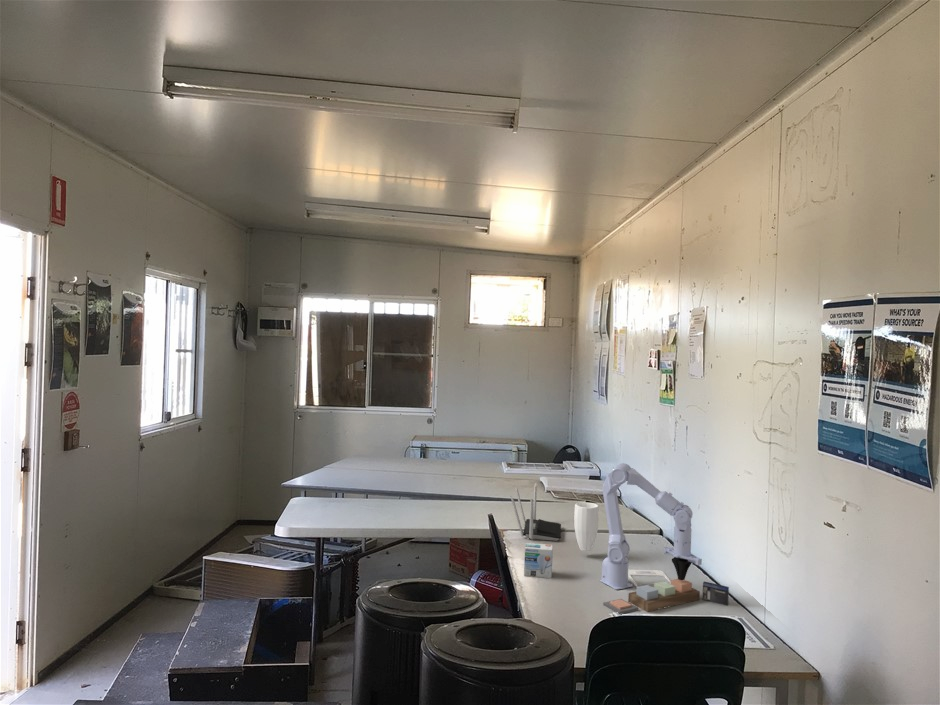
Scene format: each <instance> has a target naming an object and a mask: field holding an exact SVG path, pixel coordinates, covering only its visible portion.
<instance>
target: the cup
mask: <svg viewBox="0 0 940 705" xmlns="http://www.w3.org/2000/svg"><path fill="white" fill-rule="evenodd" d="M599 507H600V506H599V505H598V504H596V503H594V502H587V501H586V502H585V501H584V502H583V501H582V502H580V501H579V502H576V503H575V504H574V513H573V515H574V516H573V518H574V520H573V521H574V522H573V523H574V532H575V533H574V534H575V538H576V541H577V545H578V547H579V550H580V551H582V552H591V551H592V548H594V544H595V542H596V539H597V535H598V530H599V521H600V520H599V519H600V518H599V517H600V516H599V515H600V514H599V512H600V508H599Z"/></svg>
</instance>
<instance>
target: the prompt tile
mask: <svg viewBox="0 0 940 705" xmlns="http://www.w3.org/2000/svg"><path fill="white" fill-rule="evenodd" d="M602 605H603V606H604V607H606V608H608V609H609V610H611V611H612V612H615V613H616V612H618V613H617V614H618V615H623V614H626V613H630V612H635V611H638V610H639V607H637V606H635V605H633V604H631V603H630V602H628V601H626V600H625V599H623V598H618V599H614V600H608V601H604V602H603V603H602Z"/></svg>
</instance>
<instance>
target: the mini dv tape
mask: <svg viewBox="0 0 940 705" xmlns="http://www.w3.org/2000/svg"><path fill="white" fill-rule="evenodd" d="M729 588H730V587H729V586H726V585H721V584H717V583H713V582H710V581H703V582H702V596H701V597H702V600H703V601H706V602H711V603H715V604H719V605H723V606H728V605H729V595H730V594H729V592H730V589H729Z"/></svg>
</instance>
